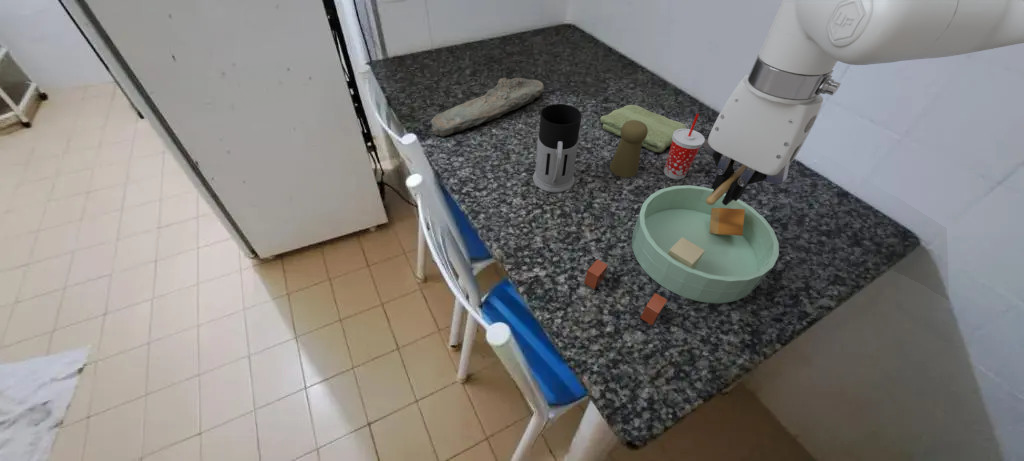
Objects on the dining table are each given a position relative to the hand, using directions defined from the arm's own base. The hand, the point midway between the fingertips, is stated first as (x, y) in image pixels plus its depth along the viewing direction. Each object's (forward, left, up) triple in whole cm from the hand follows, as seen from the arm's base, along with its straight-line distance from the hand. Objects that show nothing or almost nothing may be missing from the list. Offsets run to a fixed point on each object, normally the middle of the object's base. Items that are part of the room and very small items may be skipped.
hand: (723, 197), depth 58 cm
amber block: (-3, -6, -11) cm, 13 cm away
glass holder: (+29, +1, -13) cm, 32 cm away
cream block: (+1, +5, -13) cm, 14 cm away
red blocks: (+5, +16, -13) cm, 21 cm away
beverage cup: (+12, -20, -13) cm, 27 cm away
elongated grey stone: (+59, -13, -13) cm, 62 cm away
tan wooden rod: (0, 0, +3) cm, 3 cm away
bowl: (0, -1, -13) cm, 13 cm away
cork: (+21, -14, -13) cm, 29 cm away
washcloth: (+25, -30, -13) cm, 41 cm away
